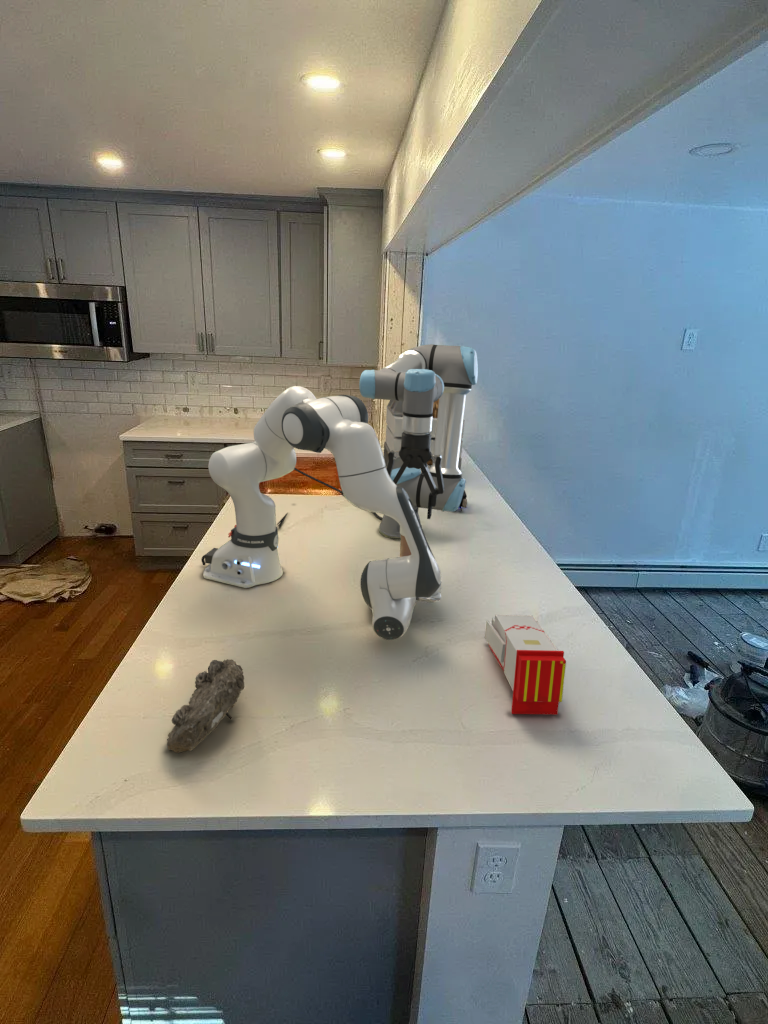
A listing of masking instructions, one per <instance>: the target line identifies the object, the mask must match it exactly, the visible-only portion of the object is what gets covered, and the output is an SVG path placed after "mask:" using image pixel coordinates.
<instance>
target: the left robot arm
mask: <svg viewBox="0 0 768 1024" xmlns="http://www.w3.org/2000/svg"><path fill="white" fill-rule="evenodd" d="M253 439H254V441H252V442H248V443H241V444H234V445H229V446H227V447H223V448H221V449H219V450H216V451H214V452H213V453H212V454H211V455H210V457H209V460H208V464H207V465H208V474H209V477H210V478H211V480H212V481H213V483H215V484H216V485H217V486H218V487H220V488H222V489H223V490H225V491H226V493H228V495H229V497H230V498H231V500H232V503H233V506H234V513H235V524H234V527H233V528H232V529H230V531H229V532H228V534H227V535H228V536H227V537H228V538H231V539H230V540H228V541H227V542H224V543H223V544H222V545H221V546H220V547H213V548H212V549H211V550H209V551H208V552H207V553H205V554H203V555H202V557H201V558H200V559H201V564H202V566H206V564H208V565H207V566H206V567H205V569H203V574H202V575H203V579H205V580H210V581H215V582H219V583H223V584H227V585H232V586H235V587H239V588H243V589H244V588H245V589H248V588H249V589H250V588H252V587H255V586H259V585H264V584H269V583H272V582H274V581H276V580H279V579H280V578H281V577H282V576H283V574H284V571H283V567H282V564H281V561H280V555H279V549H278V548H279V527H278V526H277V505H276V503H275V501H274V500H273V498H272V497H270V496H269V495H267V494H265V493H262V492H261V490H260V483H262V482H267V481H273V480H277V479H280V478H282V477H285V476H286V475H289V474H290V473H292V472H293V471H295V470H294V468H296V466H297V453H296V450H295V449H297V450H301V451H308V452H309V451H310V452H313V453H316V454H321V453H322V452H323V451H324V449H325V450H327V451H328V452H330V453H331V454H332V456H333V458H334V462H335V465H336V466H335V467H336V471H337V476H338V480H339V484H340V488H341V491H342V492H343V494H344V495H343V494H342V495H343V496H344V498H345V500H346V501H347V502H348V503H350V504H351V505H352V506H354V507H355V508H357V509H360V510H361V511H362V510H363V511H365V512H370V513H372V512H375V513H376V514H380V515H387V516H389V517H391V518H393V519H395V520H396V521H397V522H398V523H399V525H400V526H401V529H402V531H403V534H404V536H405V539H406V541H407V544H408V546H409V549H410V551H411V555H409V556H403V557H400V556H397V557H391V558H389V557H388V558H382V559H381V558H380V559H375V560H370V561H369V562H368V563H366V565H365V567H364V568H363V570H362V573H361V575H360V581H359V582H360V583H359V584H360V592H361V595H362V598H363V600H364V602H365V604H366V605H367V606H368V608H370V609H371V610H372V620H371V621H372V629H373V632H374V633H375V634H376V635H377V636H378V637H379V638H381V639H384V640H388V641H389V640H391V641H392V640H397V639H400V638H402V637H403V636H404V635H405V634H406V633H407V631H408V628H409V626H410V624H411V622H412V618H413V612H414V611H415V606H416V603H417V602H421V603H429V604H430V603H433V604H434V603H436V602H438V601H441V599H442V586H443V581H442V572H441V569H440V566H439V563H438V562H437V560H436V557H435V556H434V555H435V554H434V553H433V550H432V549H431V547H430V544H429V542H428V539H427V537H426V535H425V532H424V530H423V526H422V527H421V525H422V524H420V522H421V520H420V521H419V519H418V516H417V514H416V511H415V509H414V507H413V504H412V502H411V500H410V498H409V496H408V494H407V492H406V491H405V490H404V488H401V487H398V486H397V485H396V484H395V483H394V482H393V481H392V479H391V478H390V476H389V474H388V472H387V466H386V464H385V459H384V451H383V450H382V447H381V446H382V445H381V443H380V441H379V438H378V436H377V433H376V430H375V429H374V427H373V426H372V425H371V424H370V423H369V412H368V409H367V406H366V404H365V403H364V402H363V400H361V398H359V397H357V396H354V395H349V394H338V395H331V396H323V397H318V398H317V397H316V395H314V393H313V392H312V391H311V390H309V389H308V388H306V387H304V386H302V385H301V386H300V385H293V386H290V387H287V388H286V389H284V390H283V391H282V392H281V393H280V394H278V396H277V397H276V398H275V399H274V400H273V401H272V402H271V403H270V404H269V405H268V406H267V408H266V410H265V411H264V413H263V414H262V415H261V417H259V419H258V421H257V423H256V424H255V425H254V427H253Z"/></svg>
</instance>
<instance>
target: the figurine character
mask: <svg viewBox="0 0 768 1024" xmlns="http://www.w3.org/2000/svg"><path fill="white" fill-rule="evenodd" d="M467 495H468V494H467V493H466V490H465V489H464V493H463V497H462V500H461V503H460V505H459V508H458V509H459V510H460V512H463V509H464V508H465V509H466V508H467V506H468V499H467V497H468V496H467ZM458 509H457V510H458Z"/></svg>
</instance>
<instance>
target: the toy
mask: <svg viewBox="0 0 768 1024" xmlns="http://www.w3.org/2000/svg"><path fill="white" fill-rule="evenodd" d="M494 615H495V616H494V617H491V622H490V620H485V621H486V622H485V630H484V640H485V641H486V642H487V646H488V647H489V649H490V651H491V652H492V654H493V656H494V657H495V659H496V661H497V663H498V665H499V667H500V668H501V670H502V671H503V674H504V676H505V678H506V680H507V682H508V684H509V686H510V689H511V690H512V701H511V712H510V713H511V714H512V715H556V716H558V715H559V714H558V713H559V705H560V703H562V702H563V695H564V694H563V693H564V686H565V685H564V683H565V677H566V676H565V675H566V667H567V666H566V665H567V660H566V658H564V656H565V651H564V650H559V649H558V648H557V646H556V645H555V644H554V642H553V641H552V640H551V638H550V637H549V636H548V634H547V633H546V631H544V629H543V628H542V626H541V625H540V623H539V622H538V620H536V618H535V617H534V615H531V614H530V615H527V614H526V615H523V614H519V615H518V614H494Z"/></svg>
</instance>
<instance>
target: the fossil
mask: <svg viewBox="0 0 768 1024" xmlns="http://www.w3.org/2000/svg"><path fill="white" fill-rule="evenodd" d="M243 670H244V669H243V667H242V665H240V664H237V662H236V661H235V660H234V659H232V658H231V659H227V658H226V659H224V660H223V661H222V660H217V659H212V660H211V661H210V663H209V665H208V666H207V671H201V672H199V673H198V674H197V675H196V676H195V680H194V684H195V685H194V687H195V689H194V690H193V693H192V694H191V697H190V698H189V700H188V704H184V705H182V706H181V707H180V709H177V710H176V711H175V713H174V715H173V716H172V718H171V723H172V724H173V727H172V730H171V731H170V732H168V734H167V738H166V741H167V742H166V745H167V749H168V750H169V751H173V752H174V753H176V754H178V753H182V752H188V751H189V752H192V751H193V750H195V748H196V747H197V746H199V744H200V743H201V742H203V741H204V740H205V739H206V738H207V737H208V736H209V735H210V734H211V733H212V732H214V730H215V729H217V727H218V726H219V724H220V722H221V721H222V720H223V719H224V718H225V716H226V717H227V719H229V720H233V717H232V715H230V714H229V710H230V709H231V708H234V706H235V704H236V703H237V702H238V699H239V697H240V695H241V693H242V691H243V690H245V689H244V688H245V675H244V671H243Z"/></svg>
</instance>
